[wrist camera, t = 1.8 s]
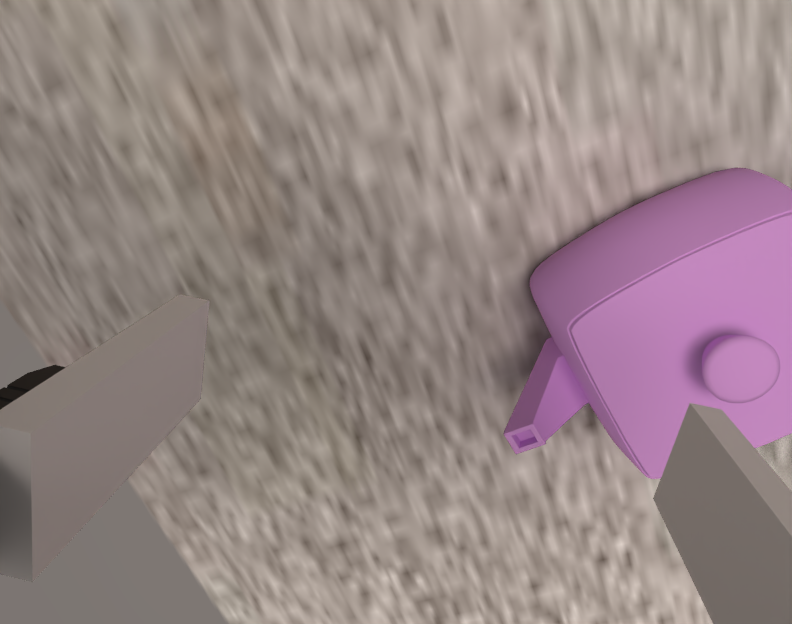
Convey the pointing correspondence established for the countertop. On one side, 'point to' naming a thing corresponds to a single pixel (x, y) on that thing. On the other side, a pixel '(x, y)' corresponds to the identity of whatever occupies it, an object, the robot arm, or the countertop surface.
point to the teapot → (669, 319)
